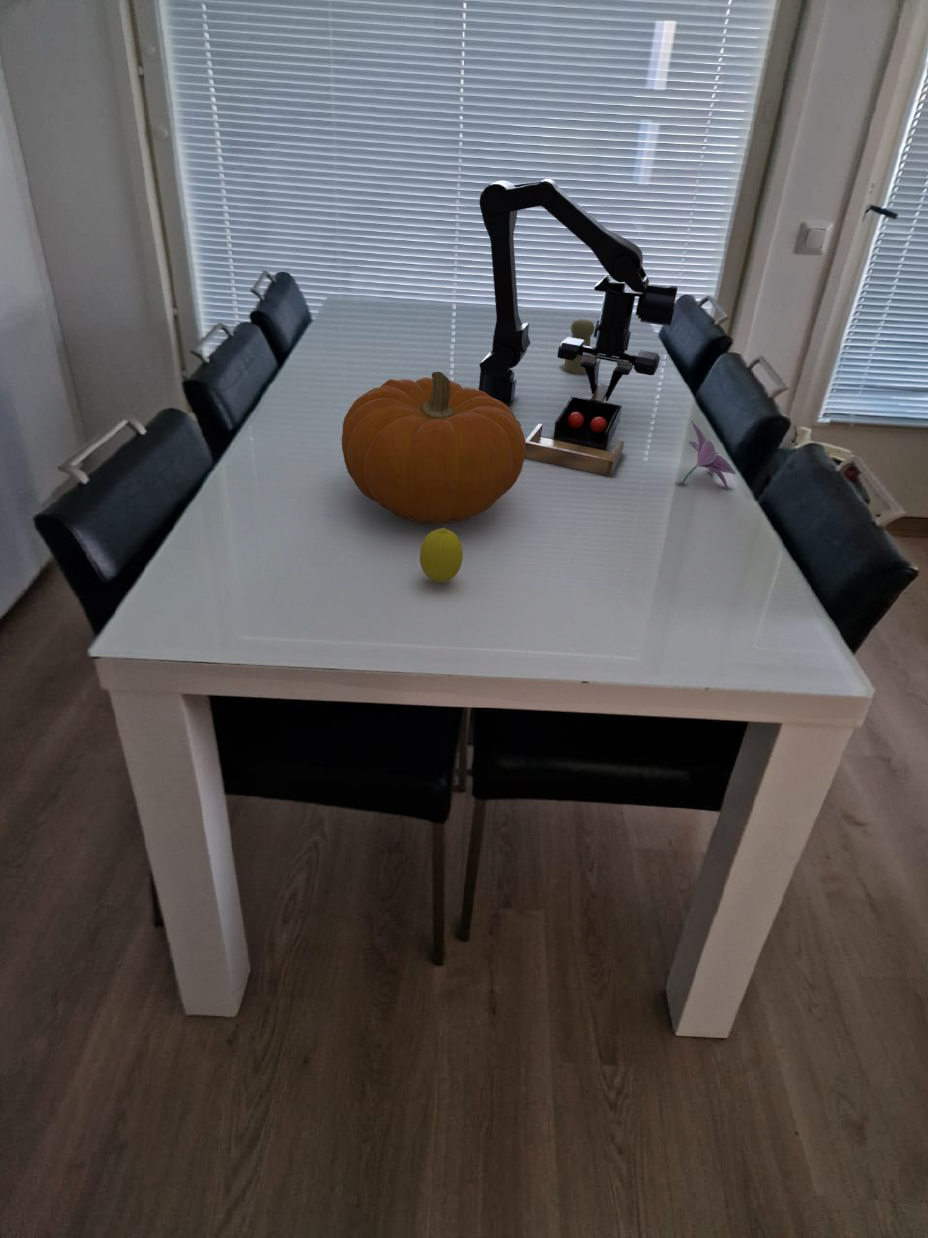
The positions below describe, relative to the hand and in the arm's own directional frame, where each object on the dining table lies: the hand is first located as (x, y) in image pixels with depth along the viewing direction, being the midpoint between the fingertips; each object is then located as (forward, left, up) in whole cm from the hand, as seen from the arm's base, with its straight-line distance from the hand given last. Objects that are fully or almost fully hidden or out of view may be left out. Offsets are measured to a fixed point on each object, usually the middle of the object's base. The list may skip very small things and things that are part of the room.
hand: (600, 399), depth 162 cm
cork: (-11, +28, -4) cm, 30 cm away
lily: (+23, -21, -4) cm, 31 cm away
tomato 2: (+2, -12, -1) cm, 12 cm away
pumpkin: (-16, -50, -4) cm, 53 cm away
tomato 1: (-2, -12, -1) cm, 12 cm away
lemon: (-6, -72, -4) cm, 72 cm away
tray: (0, -22, -4) cm, 22 cm away
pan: (0, -7, -2) cm, 7 cm away
